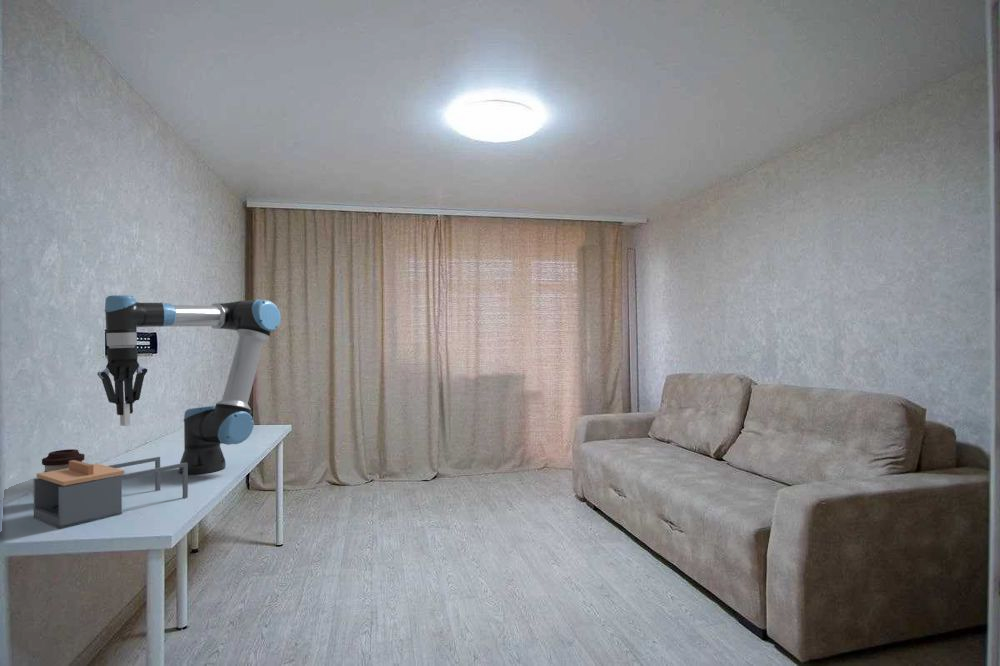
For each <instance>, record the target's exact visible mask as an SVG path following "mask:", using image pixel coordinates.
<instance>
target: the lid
mask: <svg viewBox="0 0 1000 666" xmlns="http://www.w3.org/2000/svg"><path fill="white" fill-rule="evenodd" d="M124 474H125V470H124V469H120V468H112V467H109V465H105V464H104V465H103V464H100V463H89V462H88V463H87V462H83V461H82V462H80V461H76V460H71V461H69V468H67V469H61V470H55V471H49V472H44V471H43V472H39V473H36V478H40V479H44V480H47V481H50V482H53V483H56V484H59V485H62V486H66V485H71V484H76V483H81V482H86V481H91V480H98V479H103V478H108V477H114V476H119V475H124Z"/></svg>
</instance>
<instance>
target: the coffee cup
mask: <svg viewBox="0 0 1000 666" xmlns="http://www.w3.org/2000/svg"><path fill="white" fill-rule="evenodd" d="M85 456H86V455H85V454H83V453H80V452H79V449H74V448H73V449H71V448H70V449H69V448H68V449H59V450H55V451H54V450H53V451H51V452H48V454H47V456H45V457H43V458H42V459H41V466H44V471H43V472H49V471H55V470H61V469H67V468H69V461H71V460H76V461H80V462H83V461H85Z"/></svg>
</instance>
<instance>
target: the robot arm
mask: <svg viewBox="0 0 1000 666" xmlns="http://www.w3.org/2000/svg"><path fill="white" fill-rule="evenodd" d="M104 305H105V306H104V313H105V328H106V329H105V330H106V334H105V335H106V346H107V347H109V348H107V349H106V355H107V356H106V358H107V359H106V360H107V365H106V366H105V368H104V369H103V370H101V371H98V372H97V376H98V377H99V378H100V379H101V383H102V384H103V385H102V386H103V387H104V391H105V394H106V397H107V401H108V403H111V404H115V405H116V415H117V416H119V422H120V426H122V427H127V426H131V414H133V413H134V410H133V409H134V407H133V405H134V403H135V402H136V401H138V400H140V398H141V394H142V389H143V385H144V384H143V383H144V379H145V375H146V374H147V373H148V369H147V368H143V367H142V366H140V363H139V362H138V358H139V357H138V347H136V346H137V345H138V336H137V335H138V334H137V333H138V332H137V329H138V328H146V327H147V328H148V327H149V328H150V327H153V328H155V327H156V328H157V327H160V328H161V327H166V328H167V327H171V328H172V327H211V328H212V329H216V330H219V329H221V330H223V329H224V330H231V331H236V333H237V334H238V336H239V338H238V341H237V344H236V347H235V348H236V349H235V351H234V356H233V359H232V363H231V367H230V370H229V374H228V377H227V381H226V383H225V384H226V385H225V387H224V391H223V396H222V397H221V398H222V399H221V400H219V401H218V402H216V404H215V405H209V406H201V407H195V408H193V407H192V408H188V409H186V410H184V415H183V423H184V426H183V427H184V429H183V430H184V431H183V433H184V437H183V438H184V441H183V443H184V446H183V447H184V451H183V453H182V455H181V460H180V462H179V464H180V463H188V475H197V474H198V475H199V474H208V473H213V472H218V471H220V470H224V469H226V465H227V464H226V458H225V457H224V453H223V450H222V448H221V444H222V445H223V444H224V445H238V444H241V443H243V442H245V441H247V439H248V438H249V437H250V436H251V434H252V433H253V430H254V425H255V423H254V419H253V416H252V415H251V410H252V409H251V407H250V405H249V400H250V396H251V392H252V387H253V385H254V381H255V378H256V373H257V369H258V364H259V362H260V357H261V355H262V350H263V346H264V342H266V341H267V340H269V339H270V337H271V334H272V331H274V330H276V329H277V328H278V327H279V326H280V324H281V318H282V317H281V312H280V310H279V308H278V307H277V305H276V304H275V303H274V302H272V301H270V300H268V299H256V300H253V299H252V300H238V301H231V302H224V303H220V302H219V303H218V302H217V303H212V304H211V305H190V304H189V305H187V304H186V305H184V304H182V305H181V304H172V303H167V302H137V301H136V297H135V296H134V295H126V294H125V295H121V294H119V295H117V294H116V295H108V296H106V298H105V302H104ZM135 374H136V375H135ZM110 375H111V376H112V377H113V381H114V386H113V383H112V380H111V378H110ZM134 375H135V379H134ZM133 380H134V382H133ZM178 473H179V474H183V467H181V468H178Z"/></svg>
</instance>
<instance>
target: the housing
mask: <svg viewBox="0 0 1000 666" xmlns="http://www.w3.org/2000/svg"><path fill="white" fill-rule="evenodd" d="M152 462H153V463H154V462H155V463H154V468H150V469H145V470H141V471H140V470H139V471H134V472H130V473H124V474H122V475H117V476H112V477H107V478H102V479H97V480H91V481H86V482H81V483H76V484H72V485H66V486H62V485H59V484H56V483H53V482H50V481H47V480H44V479H40V478H37V477H36V478H33V519H35V520H37V521H41V522H42V523H44V524H48V525H49V526H52V527H54V528H57V529H59V530H63V529H66V528H71V527H74V526H79V525H82V524H86V523H90V522H91V523H92V522H95V521H98V520H99V521H100V520H103V519H106V518H111V517H115V516H118V515H122V514H123V513H122V511H123V509H122V506H123V505H122V504H123V503H122V502H123V501H122V500H123V497H122V496H123V495H122V494H123V493H122V492H123V491H122V489H123V486H122V484H123V483H122V480H125V479H130V478H136V477H140V476H145V475H150V474H154V480H155V481H154V483H155V486H154V488H155V489H154V490H155V491H156V492H158V491H161V473H162V472H165V471H170V470H175V469H179V468H181V467H183V473H182V499H187V497H189V495H188V494H189V492H188V491H189V489H188V487H189V482H188V481H189V479H188V477H189V476H188V475H189V474H188V463H180V462H179V463H177V464H171V465H166V466H161V456H155V457H149V458H145V459H138V460H132V461H126V462H121V463H115V464H111V465H108V466H109V467H112V468H116V469H120V468H125V467H131V466H135V465H136V466H137V465H142V464H147V463H152ZM56 504H59V507H57V508H55V509H53V506H54V505H56Z"/></svg>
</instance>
